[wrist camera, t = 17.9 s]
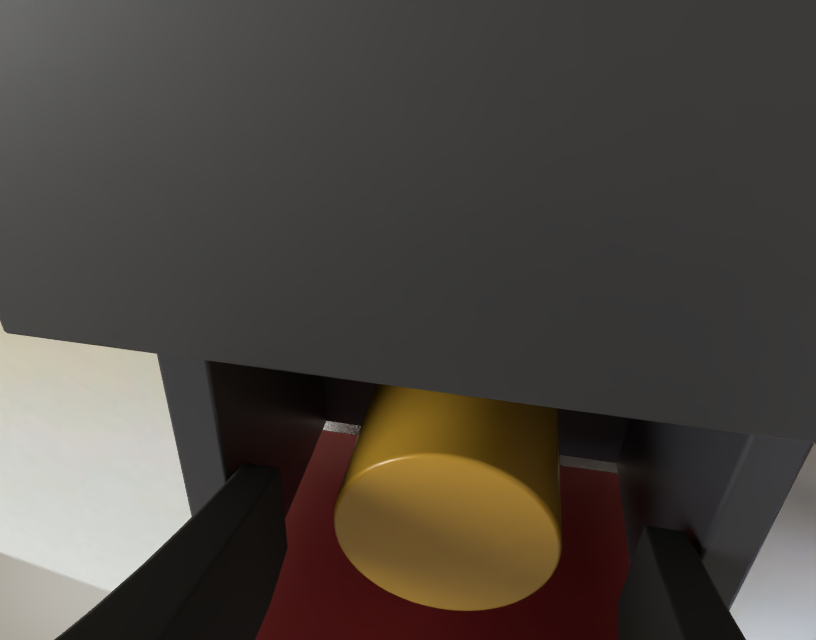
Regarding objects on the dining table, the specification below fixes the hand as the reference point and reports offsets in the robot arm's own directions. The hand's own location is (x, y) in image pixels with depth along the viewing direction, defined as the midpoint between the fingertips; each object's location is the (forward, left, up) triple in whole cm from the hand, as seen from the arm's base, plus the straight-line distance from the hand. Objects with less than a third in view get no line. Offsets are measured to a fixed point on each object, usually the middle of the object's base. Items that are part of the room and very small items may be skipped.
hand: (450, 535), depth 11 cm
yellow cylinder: (0, 0, -5) cm, 5 cm away
